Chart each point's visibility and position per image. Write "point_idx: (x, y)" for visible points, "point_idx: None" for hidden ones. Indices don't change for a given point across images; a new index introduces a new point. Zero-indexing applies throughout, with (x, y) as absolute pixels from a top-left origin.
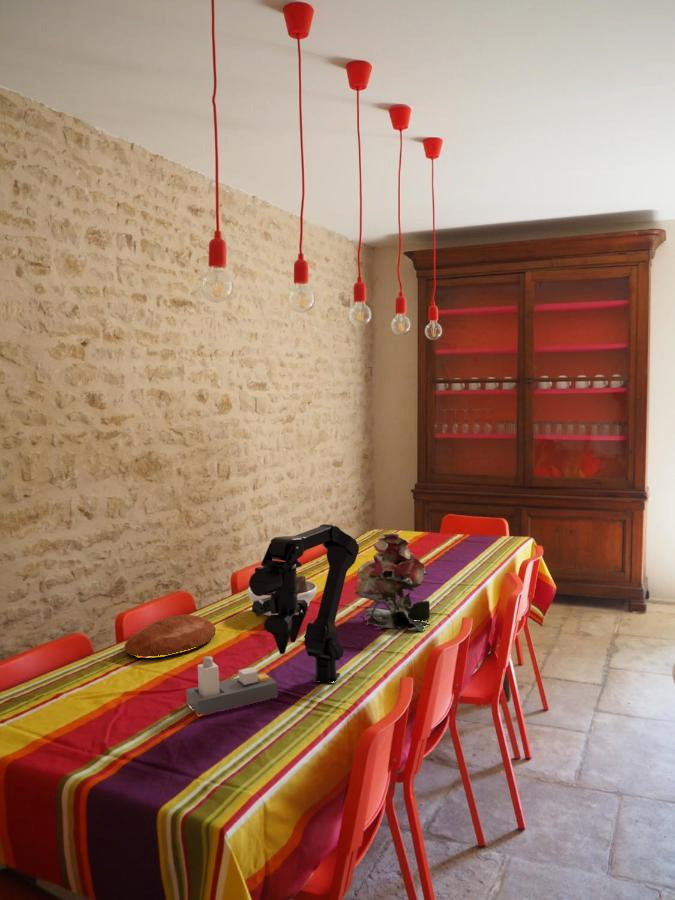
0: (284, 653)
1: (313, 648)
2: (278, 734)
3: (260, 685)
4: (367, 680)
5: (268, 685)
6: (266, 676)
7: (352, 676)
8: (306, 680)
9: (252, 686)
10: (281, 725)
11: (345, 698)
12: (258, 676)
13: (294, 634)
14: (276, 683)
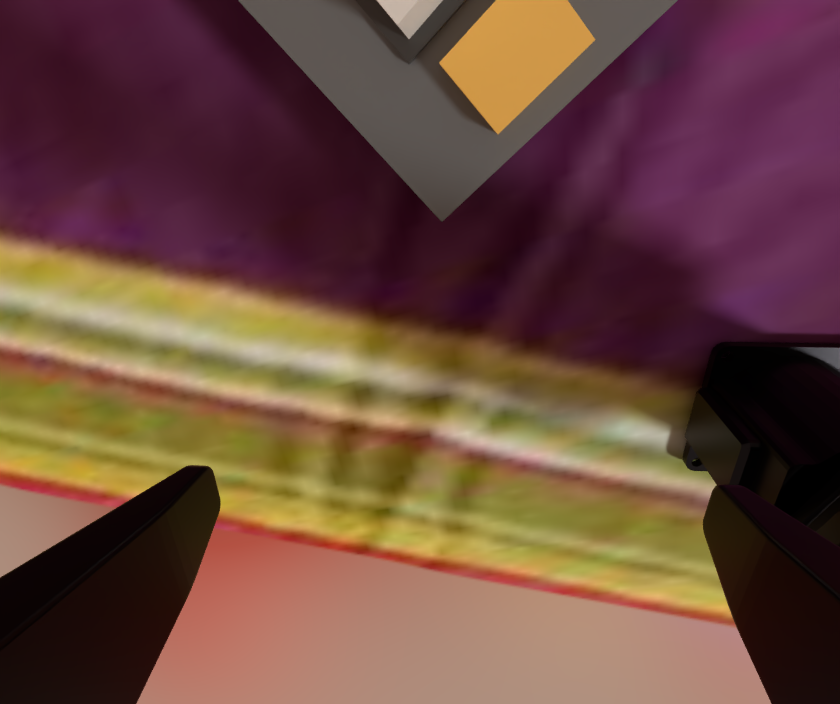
0: (214, 511)
1: (830, 538)
2: (31, 344)
3: (359, 93)
4: None
5: (388, 161)
6: (502, 100)
7: None
8: (760, 299)
9: (320, 20)
10: (118, 331)
11: (491, 527)
12: (494, 7)
13: (766, 636)
14: (438, 215)
